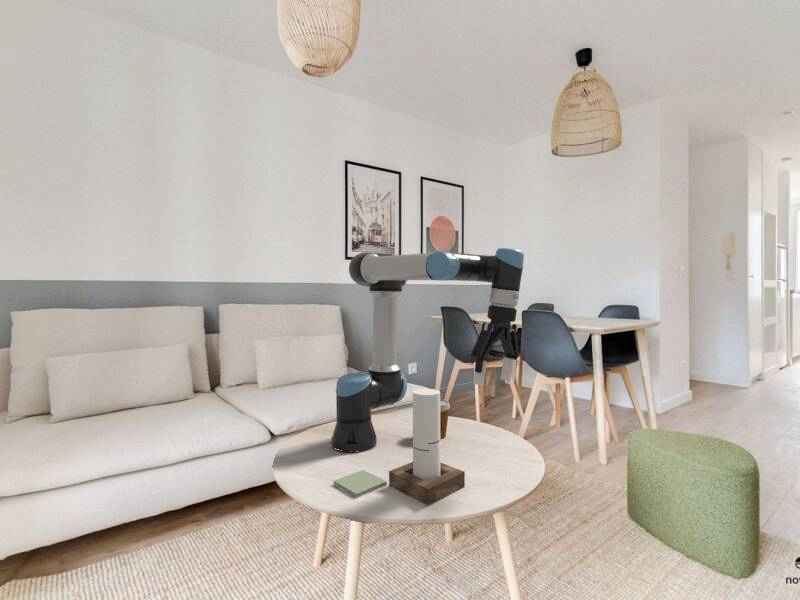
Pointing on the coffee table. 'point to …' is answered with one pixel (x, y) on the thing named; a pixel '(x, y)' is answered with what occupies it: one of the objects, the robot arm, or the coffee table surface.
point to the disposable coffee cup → (443, 417)
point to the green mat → (360, 483)
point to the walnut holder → (427, 483)
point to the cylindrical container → (426, 434)
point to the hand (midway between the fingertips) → (492, 382)
